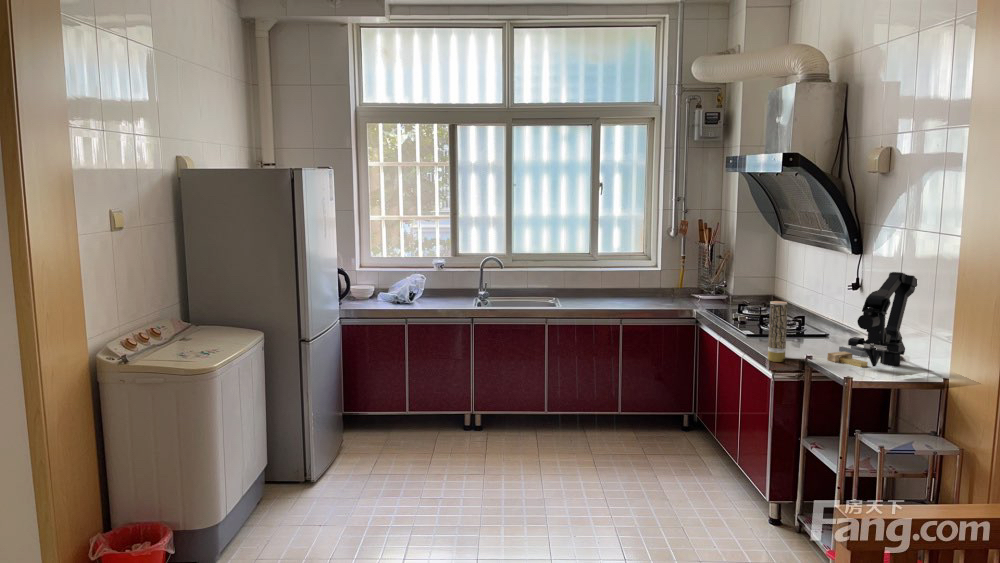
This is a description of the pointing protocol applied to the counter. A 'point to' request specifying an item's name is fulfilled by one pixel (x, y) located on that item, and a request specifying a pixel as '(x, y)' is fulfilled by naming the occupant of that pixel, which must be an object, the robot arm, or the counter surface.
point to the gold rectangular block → (852, 361)
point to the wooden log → (777, 331)
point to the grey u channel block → (854, 350)
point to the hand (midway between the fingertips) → (874, 366)
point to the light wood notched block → (837, 356)
